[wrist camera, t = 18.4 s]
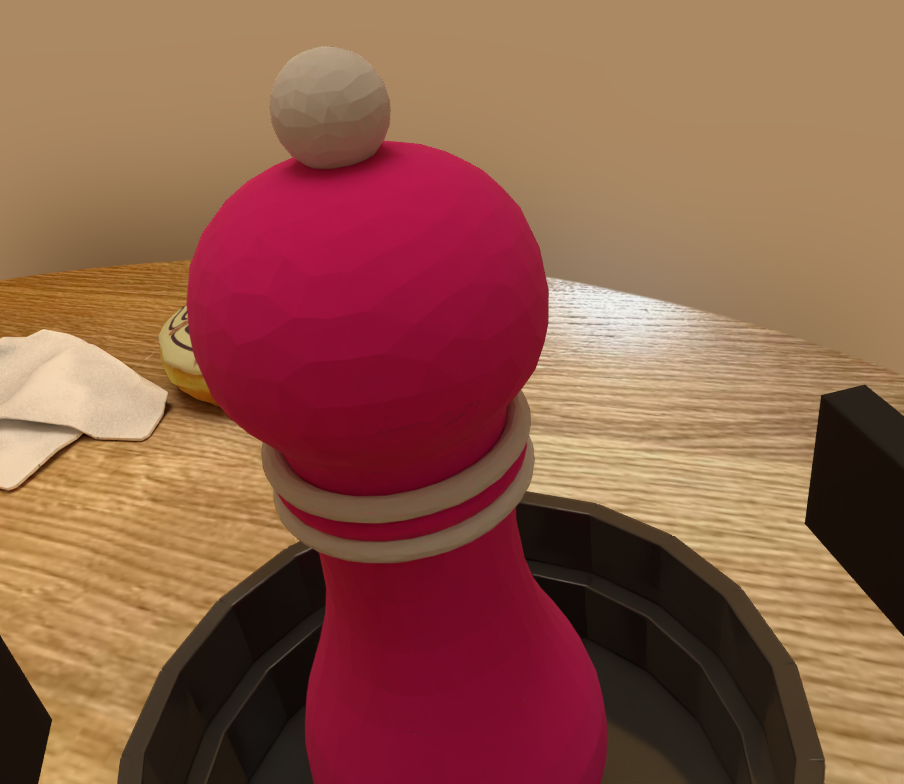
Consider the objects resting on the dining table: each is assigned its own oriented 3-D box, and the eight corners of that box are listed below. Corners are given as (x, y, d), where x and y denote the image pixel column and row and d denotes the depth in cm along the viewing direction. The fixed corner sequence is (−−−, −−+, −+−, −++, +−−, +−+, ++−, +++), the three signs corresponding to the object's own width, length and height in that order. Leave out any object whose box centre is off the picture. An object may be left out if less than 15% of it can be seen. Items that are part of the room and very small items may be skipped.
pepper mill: (437, 1047, 19) (142, 171, 8) (301, 802, 24) (13, 78, 13) (671, 848, 22) (687, 10, 11) (504, 669, 27) (404, -13, 16)
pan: (640, 562, 31) (638, 442, 28) (956, 1094, 17) (1018, 972, 14) (196, 680, 29) (144, 564, 26) (165, 1376, 16) (49, 1302, 13)
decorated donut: (391, 379, 44) (378, 315, 42) (185, 444, 41) (161, 380, 39) (338, 302, 52) (326, 245, 50) (164, 352, 50) (143, 295, 48)
